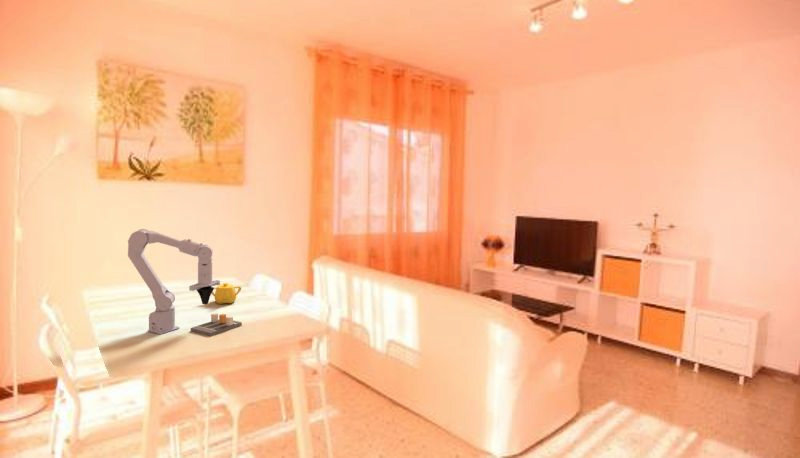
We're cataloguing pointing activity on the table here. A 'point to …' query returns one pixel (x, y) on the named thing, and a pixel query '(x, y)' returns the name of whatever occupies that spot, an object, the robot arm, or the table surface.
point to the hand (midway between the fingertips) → (205, 303)
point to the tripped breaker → (222, 318)
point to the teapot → (225, 293)
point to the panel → (216, 326)
